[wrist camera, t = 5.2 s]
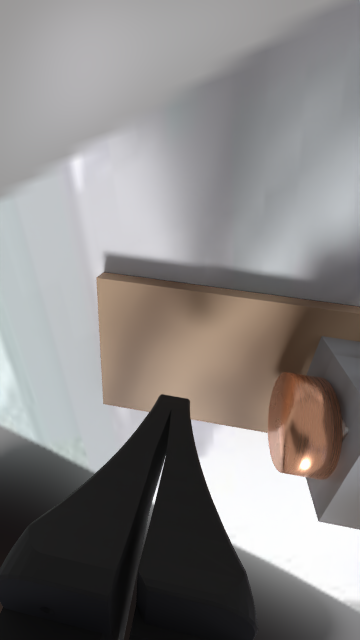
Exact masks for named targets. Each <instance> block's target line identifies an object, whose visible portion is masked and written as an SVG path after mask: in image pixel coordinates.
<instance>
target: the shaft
mask: <svg viewBox="0 0 360 640" xmlns="http://www.w3.org/2000/svg"><path fill="white" fill-rule="evenodd" d="M348 431H349V430H348V428H347V426H346V424H345V422H344V420H343V418H342V416H341V410H340V405H339V401H338V398H337V396H336V393H335V391H334V389H333V387H332V386H331V384H330V383H329V382H328V381H327V380H326V379H324V378H321V377H315V376H308V375H302V374H295V373H289V372H283V373H281V374H280V375H279V377H278V378H277V380H276V382H275V384H274V387H273V390H272V394H271V399H270V404H269V413H268V441H269V448H270V454H271V458H272V461H273V463H274V466H275V467H276V469H277V470H278V471H279V472H281V473H286V474H291V475H297V476H302V477H308V478H313V479H318V480H324V479H327V478H328V477H329V476H330V475H331V474H332V473H333V471H334V470H335V468H336V466H337V463H338V460H339V457H340V453H341V447H342V442H343V440H344V438H345V436H346V435H347V433H348Z"/></svg>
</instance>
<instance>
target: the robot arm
mask: <svg viewBox="0 0 360 640" xmlns="http://www.w3.org/2000/svg"><path fill="white" fill-rule="evenodd" d="M165 456H166V458H165ZM164 459H165V462H164ZM163 463H164V467H163V471H162V475H161V480H160V484H159V488H158V492H157V497H156V501H155V505H154V509H153V513H152V517H151V521H150V525H149V529H148V533H147V537H146V541H145V545H144V549H143V552H142V557H141V560H140V564H139V559H140V554H141V549H142V544H143V540H144V535H145V530H146V525H147V521H148V516H149V511H150V507H151V504H152V500H153V497H154V493H155V490H156V486H157V483H158V480H159V476H160V473H161V470H162V466H163ZM138 564H139V568H138ZM137 568H138V580H137V602H136V609H135V614H134V618H133V623H132V628H131V633H130V638H129V640H253V639H254V637H255V636H256V634H257V630H258V624H257V616H256V610H255V605H254V600H253V596H252V592H251V588H250V584H249V581H248V577H247V574H246V571H245V569H244V567H243V565H242V563H241V561H240V560H239V558H238V556H237V554H236V552H235V550H234V548H233V546H232V544H231V542H230V539H229V537H228V535H227V533H226V531H225V529H224V526H223V524H222V522H221V519H220V517H219V515H218V512H217V510H216V507H215V505H214V503H213V500H212V498H211V495H210V492H209V490H208V487H207V484H206V481H205V478H204V475H203V472H202V469H201V465H200V462H199V458H198V454H197V450H196V446H195V442H194V437H193V432H192V426H191V418H190V400H189V399H187V398H181V397H175V396H170V395H164V394H161V395H160V396H159V397H158V399H157V401H156V403H155V404H154V406H153V408H152V409H151V411H150V412H149V414H148V415H147V417H146V418H145V419H144V421H143V422H142V423H141V425H140V426H139V427H138V429H137V430H136V431H135V432H134V433H133V435H132V436H131V437H130V438H129V439H128V441H127V442H126V443H125V444H124V445H123V446H122V447H121V449H120V450H119V451H118V452H117V453H116V454H115V455H114V456H113V457H112V458H111V459H110V460H109V461H108V462H107V463H106V464H105V465H104V466H103V467H102V468H101V469H100V470H99V471H97V472H96V473H95V474H94V475H93V476H92V477H91V478H90V479H89V480H87V481H86V482H85V483H84V484H83V485H81V486H80V487H79V488H78V489H77V490H75V491H74V492H73V493H72V494H70V495H69V496H68V497H67V498H66V499H64V500H63V501H62V502H60V503H59V504H58V505H56V506H55V507H53V508H52V509H51V510H49V511H48V512H46V513H45V514H44V515H42V516H41V517H39V518H38V519H37V520H35V521H34V522H33V523H31V524H30V525H29V526H28V527H27V528H26V530H25V531H24V533H23V534H22V535H21V536H20V538H19V539H18V541H17V542H16V544H15V545H14V546H13V548H12V549H11V551H10V552H9V554H8V556H7V558H6V559H5V561H4V563H3V565H2V566H1V568H0V602H1V604H2V606H3V609H2V611H1V613H0V640H123V639H124V633H125V628H126V623H127V618H128V613H129V608H130V603H131V598H132V593H133V588H134V583H135V578H136V574H137Z"/></svg>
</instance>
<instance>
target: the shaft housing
mask: <svg viewBox="0 0 360 640" xmlns="http://www.w3.org/2000/svg"><path fill="white" fill-rule="evenodd" d="M97 296H98V314H99V332H100V350H101V368H102V386H103V404H107V405H113V406H118V407H124V408H130V409H135V410H141V411H147V412H150V411H151V409H152V408H153V406H154V404H155V403H156V401H157V399H158V397H159V396H160V395H161V394H164V395H170V396H175V397H181V398H187V399H189V400H190V418H191V419H192V420H198V421H204V422H209V423H215V424H221V425H226V426H232V427H238V428H244V429H249V430H255V431H261V432H266V433H268V413H269V404H270V399H271V394H272V390H273V387H274V384H275V382H276V380H277V378H278V377H279V375H280V374H281V373H283V372H289V373H295V374H302V375H308V376H315V377H321V378H324V379H326V380H327V381H328V382H329V383H330V384H331V386H332V387H333V389H334V391H335V393H336V396H337V398H338V401H339V405H340V410H341V416H342V418H343V420H344V422H345V424H346V426H347V428H348V430H349V431H348V433H347V435H346V436H345V438H344V440H343V442H342V447H341V453H340V457H339V460H338V463H337V466H336V468H335V470H334V471H333V473H332V474H331V475H330V476H329V477H328V478H327V479H324V480H318V479H313V478H308V477H306V479H307V483H308V486H309V490H310V493H311V497H312V500H313V504H314V507H315V510H316V514H317V517H318V521H319V522H325V523H330V524H335V525H340V526H345V527H350V528H355V529H360V307H358V306H350V305H343V304H336V303H328V302H321V301H313V300H306V299H298V298H291V297H284V296H276V295H269V294H261V293H254V292H247V291H239V290H232V289H224V288H217V287H209V286H202V285H195V284H187V283H180V282H172V281H165V280H157V279H150V278H143V277H135V276H128V275H120V274H113V273H106V272H104V273H102V274H101V275H100V276H98V277H97Z"/></svg>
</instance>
